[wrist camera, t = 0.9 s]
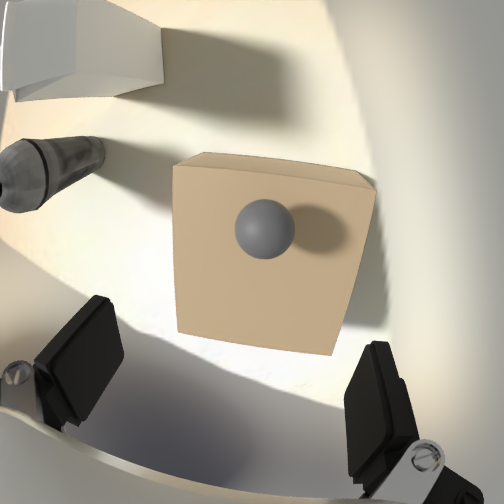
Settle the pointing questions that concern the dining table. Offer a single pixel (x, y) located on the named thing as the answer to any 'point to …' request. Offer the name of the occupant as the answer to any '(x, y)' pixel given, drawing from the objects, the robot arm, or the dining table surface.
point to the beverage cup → (45, 169)
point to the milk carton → (77, 50)
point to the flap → (266, 256)
